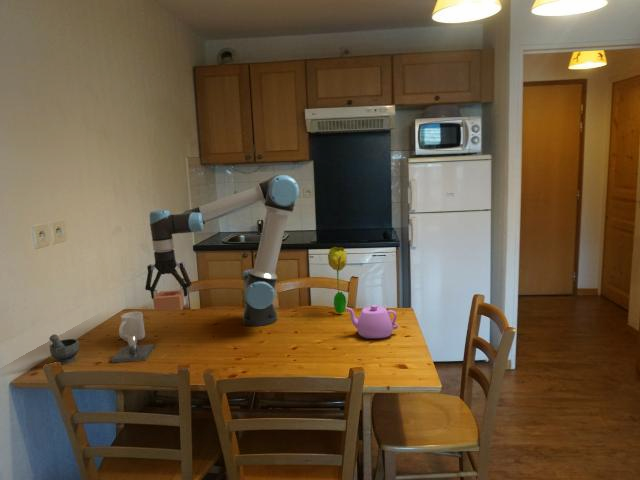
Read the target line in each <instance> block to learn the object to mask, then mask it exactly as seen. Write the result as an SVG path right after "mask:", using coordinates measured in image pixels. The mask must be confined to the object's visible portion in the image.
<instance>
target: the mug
mask: <svg viewBox="0 0 640 480" xmlns="http://www.w3.org/2000/svg"><path fill="white" fill-rule="evenodd" d="M143 314H144V313H143V312H142V311H129V312H126V313H123V314H121V315H120V320H121V321H120V322H121V323H120V325H119V327H118V334H119V337H120V338H121V339H122V340H124V342H126V341H127V342H126V343H128V339H127V336H129V335H136V340H137V342H139V341H142V340H143V339H144V338H145V337H146V332H145V322H144V315H143ZM138 340H139V341H138Z"/></svg>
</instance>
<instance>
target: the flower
mask: <svg viewBox="0 0 640 480" xmlns="http://www.w3.org/2000/svg"><path fill="white" fill-rule="evenodd" d="M327 258H328V259H327V261H328V265H329V266H330V268H331V269H332V270H334V271H336V279H337V281H336V282H337V293H336V294H335V295H334V297H333V307H334V310H335V312H336V313H338V314H339V315H342V313H345V311H346V308H345V307H347V306H346V305H347V304H346V303H347V298H346V296H345V294H344V293H343V291H341V292H340V290H339V288H340V287H339V285H340V284H339V283H340V282H339V272H340V271H342V270H343V269H344V268H345V267H346V265H347V263H348V260H347V258H348V257H347V249H345V248H344V247H342V246H341V247H338V246H334V247H331V248H330V249H329V250H328V253H327Z"/></svg>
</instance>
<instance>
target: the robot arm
mask: <svg viewBox="0 0 640 480" xmlns="http://www.w3.org/2000/svg"><path fill="white" fill-rule="evenodd" d="M299 194H300V189H299V184H298V183H297V181H296V180H295V179H294V178H293V177H291V176H290V175H285V174H277V175H275V176H272V177H270V178H269V179H267V180H264V181H262V182H259V183H257V184H256V186H255V187H253V188H249V189H247V190H244V191H241V192H238V193H235V194H232V195H229V196H226V197H224V198H220V199H217V200H214V201H212V202H209V203H206V204H203V205H200V206H197V207H194V208H192V209H187V210H184V211H183V212H182V213H178V214H171V212H170V210H168V209H160V210H152V211H150V213H149V226H150V231H151V232H150V233H151V238H152V239H151V241H152V247H153V251H154V252H153V255H154V262H155V263H154V264H148V265H147V267H146V269H147V277H146V281H145V282H146V283H145V287H144V288H145V289H144V290H145V291H149V292H150V295H151V296H150V297H151V299H152V300H153V298H154V297H155V296H156V295H157V294H158V293H159V292H158V289H156V287H157V286H158V283H159V281H160V279H161V276H162V275H166V274H167V275H170V274H171V275H172V276H173V277H174V278H175V280H176V281H177V282H178V284H179V285H180V287H181V288H180V290H181V294H182V302H183V306H186V305H187V302H186V300H187V297H188V295H189V293H188V288H189V287H191V286H192V281H191V280H190V277H189V275H188V272H187V270H186V267H185V262H184V261H181V262H177V261H176V255H175V254H176V253H175V250H174V248H175V247H174V240H173V235H176V234H187V233H188V234H189V233H190V234H191V233H198V232H202V231H203V230H204V225H206V224H209V223H211V222H214V221H218V220H220V219H223V218H225V217H229V216H232V215H235V214H238V213H240V212H243V211H246V210H249V209H252V208H255V207H257V206H260V205H264V208H265V209H266V214H265V218H264V221H263V227H262V231H261V234H260V235H261V236H260V240H259V244H258V249H257V253H256V258H255V262H254V265H253V268H251V269H247V270H244V271H243V272H242V279H243V291H244V292H243V293H244V302H245V306H244V310H243V313H242V323H243V324H244V325H246V326H248V327H249V326H251V327H261V326H267V325H271V324H274V323H275V322H277V321H278V313H277V310H276V308H275V305H274V303H273V302H274V301H275V297H276V291H275V290H276V285H277V281H278V276H277V274H276V268H277V264H278V259H279V255H280V253H281V252H280V251H281V247H282V243H283V239H284V234H285V231H286V226H287V221H288V217H289V215H291V214H292V213H293V211H294V208H295V203H296V201H297V200H298V198H299ZM176 267H177V268H178V269H180V272H181V273H180V274H181V275H182V276H180V274H179V273H178V271H177V269H176ZM155 269H156V270H157V272H156V276H155V277H154V280H153V273H154V270H155ZM152 280H153V283H152ZM151 284H152V285H151Z"/></svg>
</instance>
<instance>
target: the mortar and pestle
mask: <svg viewBox="0 0 640 480" xmlns="http://www.w3.org/2000/svg"><path fill="white" fill-rule="evenodd" d="M48 338H49V342H51V344H49V345H48V346H49V352H50V354H51V355H50V356H52V357H53V358H54V360H56V361H57V362H60V363H61V364H62V365H63V366H64V365H69V364H72V363H74V362H76V359H77V358H76V355H77V353H79V349H80V348H79V347H80V343H79V340H78V338H77V339H76V338H66V339H62V340H60V338H59V336H58V334H56V333H55V334H52V335H50V336H49V337H48ZM62 365H61V366H62Z"/></svg>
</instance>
